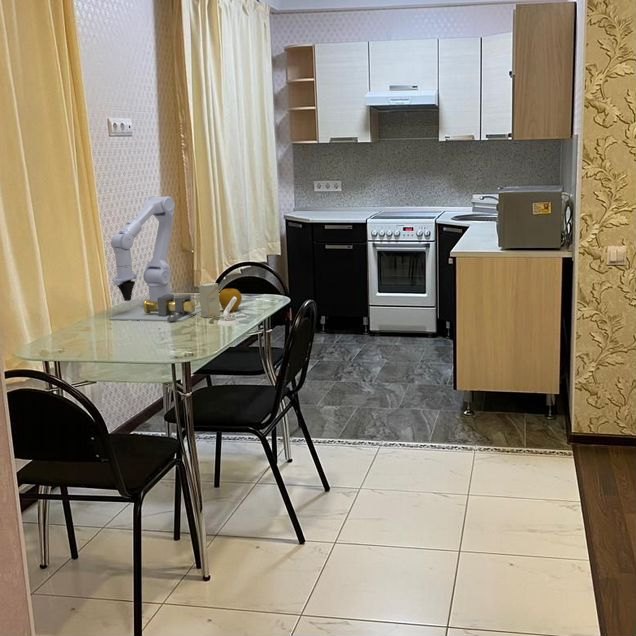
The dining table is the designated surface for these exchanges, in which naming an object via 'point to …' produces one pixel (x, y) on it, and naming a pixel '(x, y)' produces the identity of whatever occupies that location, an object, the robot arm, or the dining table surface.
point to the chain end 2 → (180, 307)
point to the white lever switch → (228, 315)
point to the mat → (147, 316)
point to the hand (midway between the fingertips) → (127, 300)
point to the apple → (229, 298)
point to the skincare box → (209, 300)
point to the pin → (153, 306)
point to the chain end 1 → (164, 304)
